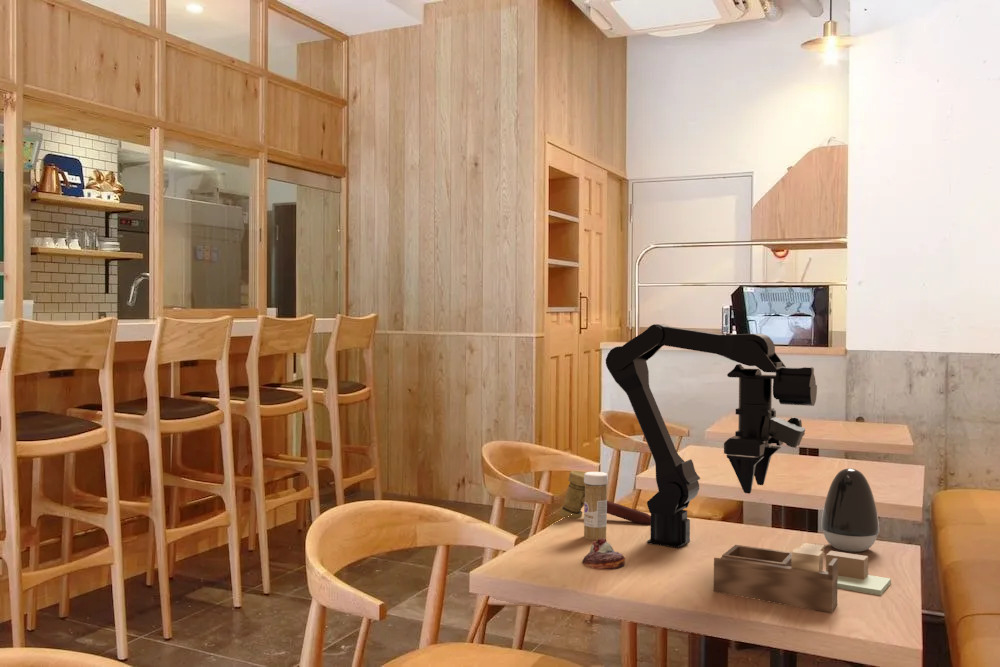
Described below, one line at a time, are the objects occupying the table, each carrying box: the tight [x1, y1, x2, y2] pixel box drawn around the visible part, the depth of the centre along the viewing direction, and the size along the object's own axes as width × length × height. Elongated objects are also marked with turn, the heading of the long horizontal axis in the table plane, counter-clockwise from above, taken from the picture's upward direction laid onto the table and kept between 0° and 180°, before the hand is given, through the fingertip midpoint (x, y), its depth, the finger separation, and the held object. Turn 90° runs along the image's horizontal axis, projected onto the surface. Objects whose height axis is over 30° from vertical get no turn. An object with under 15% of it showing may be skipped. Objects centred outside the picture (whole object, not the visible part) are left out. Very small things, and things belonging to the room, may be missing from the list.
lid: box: [825, 550, 892, 596], centre depth 144 cm, size 10×8×4 cm
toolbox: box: [713, 544, 838, 614], centre depth 140 cm, size 18×12×7 cm
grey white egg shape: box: [820, 467, 880, 553], centre depth 166 cm, size 10×10×15 cm
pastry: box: [582, 538, 626, 570], centre depth 153 cm, size 8×8×5 cm
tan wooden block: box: [791, 542, 825, 573], centre depth 135 cm, size 4×7×3 cm, turn 150°
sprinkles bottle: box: [583, 471, 609, 541], centre depth 170 cm, size 5×5×14 cm
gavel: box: [559, 470, 651, 526], centre depth 185 cm, size 21×5×10 cm, turn 70°
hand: (754, 489), depth 160 cm, fingers open, 9 cm apart
